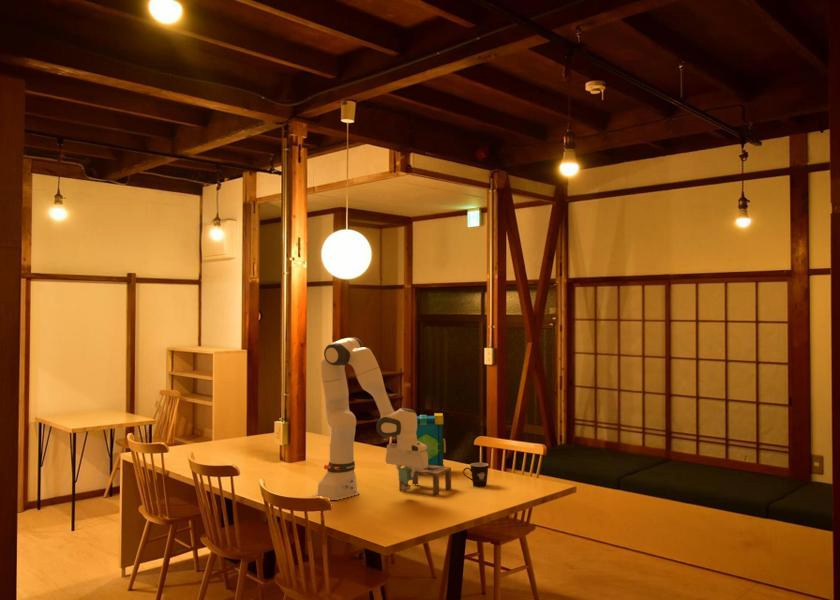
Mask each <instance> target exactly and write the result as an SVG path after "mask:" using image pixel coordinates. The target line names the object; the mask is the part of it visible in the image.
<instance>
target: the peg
mask: <svg viewBox="0 0 840 600" xmlns="http://www.w3.org/2000/svg"><path fill="white" fill-rule="evenodd" d="M403 467H404V468H403ZM403 467H401V469H399V471H398V482H399V481H404V485H402V487H401V489H402V490H404V491H409V490H411V485H410V484H409V482H410V481H412V479H413V477H409V473H411V472H412V469H411V467H405V466H403Z"/></svg>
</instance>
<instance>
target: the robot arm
mask: <svg viewBox="0 0 840 600" xmlns="http://www.w3.org/2000/svg"><path fill="white" fill-rule="evenodd" d="M323 356H324V357H323V359H321V362H320V372H321V380H322V387H323V393H324V399H325V400H324V401H325V411H326V412H325V413H326V421H327V424H328V425H329V427H330V428H331V435H330V436H331V437H330V443H329V461H328V464H324V466H323V469H324V470H326V473H325V474H324V476H322V478H321V480H320V481H319V482H318V485H317V492H315V493H313V494H312V496H313V497H315V496H322V497H327V498H329V499H330V500H338V501H340V500H339V499H341V500H344V499H343V498H345V499H347V497H348V498H351V496H352V497H355V496H358V494H359V495H360V491H359V490H358V482H357V481H358V480H357V475H356V473H355V469H356V462H355V460H354V456H355V455H354V452H355V451H354V447H355V446H354V443H355V435H356V426H357V418H356V416H355V414H354V413H353V412H352V411H350V403H349V401H350V400H349V395H350V393H349V387H348V381H347V377H346V375H347V374H346V370H345V367H346V366H347V365H348V364H349V365H350V366H351V367H352V368H353V370H354V373H355V376H356V380H357V381H358V383H359V385H360V387H361V389H362V390H364V391H365V392H367V393H368V394H370V396H372V397H373V400H374V402H375V404H376V406H377V409H378V411H379V415H380V418H379V419H377V422H376V424H375V427H376V428H375V429H376V433H378V434H379V435H380V436H381V437H383V438H392V437H396V443H393V442H390V443H388V444H387V445H386V454H385V463H386V464H388V465H395V466H396V467H395V468H396V470H397V472H399V469H401V468H402V467H405V466H407V467H411V469H412V472H411V473H409V477H414V472H415V471H416V468H421V469H424V468H426V467H427V466H428V454H427V452H426V451H425V450H426V449H427V446H426V445H425V444H423V443H421V442H419V441H417V436H416V431H417V416H418V415H417V413H416V411H415V410H414V409H411V408H406V407H400V408H399V409H398V410H395V409H394V407H393V406H392V402H391V400H390V397H389V395H388V393H387V391H386V387H385V383H384V378H383V376H382V371H381V368H380V366H379V364H378V361H377V359H376V357H375V355H374V354H373V352H372V350H371V349H370V348H369V347H364V344H363V342H362V341H361V339H360V338H358V337H353V336H349V337H345V338H340V339H339V340H336V341H333V342H330V343H329V344H328V345H327V346H326V347H325V349H324V351H323ZM354 495H355V496H354Z"/></svg>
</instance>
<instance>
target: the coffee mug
mask: <svg viewBox="0 0 840 600" xmlns="http://www.w3.org/2000/svg"><path fill="white" fill-rule="evenodd" d="M466 470H469V471H470V473H471V477H469V476H468V475H466V474H465V471H466ZM488 472H489V463H487V462H486V463H485V462H472V463H470V467H465V468H463V470H462V474H463V475H464V477H466V478H467V479H469V480H471V481H472V486H473V487H475V488H485V487H487V485H488V483H487V482H488V475H489V473H488Z"/></svg>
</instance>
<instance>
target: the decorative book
mask: <svg viewBox="0 0 840 600" xmlns="http://www.w3.org/2000/svg"><path fill="white" fill-rule="evenodd" d="M416 436H417V441H419V442H421V443H423V444H425V445H426V446H427V449H426V450H425V451H426V452H427V454H428V465H435V466H444V467H445V464H444V453H447V452H446V451H447V449H446V448H447V445H446V442H447V441H446V439H445V438H444V415H443V412H442V413H441V412H439V413H437V412H434V415H427V414H420V415H417V431H416ZM404 467H406V466H404ZM432 471H433V470H432ZM441 475H442V476H443V475H444V476H445V473H443V474H441Z"/></svg>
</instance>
